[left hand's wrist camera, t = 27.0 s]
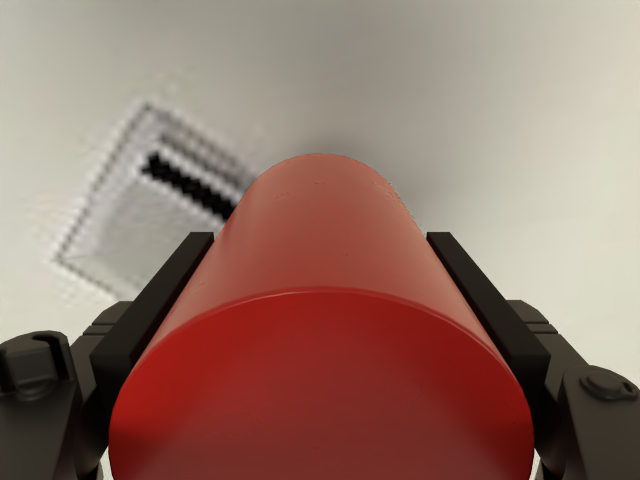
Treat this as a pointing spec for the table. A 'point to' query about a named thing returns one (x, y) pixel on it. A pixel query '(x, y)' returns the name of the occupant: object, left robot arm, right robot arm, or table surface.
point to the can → (321, 351)
